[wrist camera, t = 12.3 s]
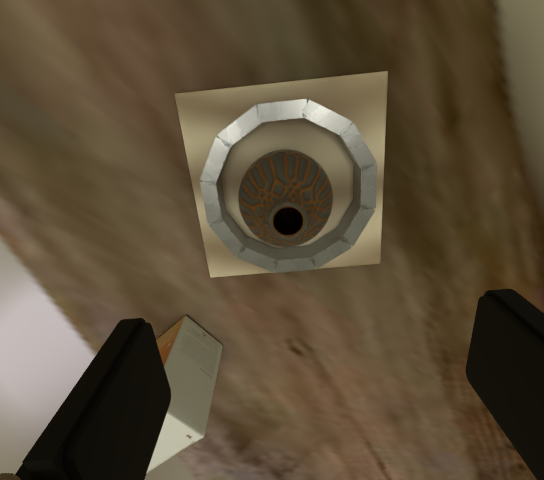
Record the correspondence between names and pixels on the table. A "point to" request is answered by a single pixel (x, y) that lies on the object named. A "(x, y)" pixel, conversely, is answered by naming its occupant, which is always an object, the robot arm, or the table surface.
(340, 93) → the birch board
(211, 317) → the table surface
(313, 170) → the vase
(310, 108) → the ring collar
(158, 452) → the small box
